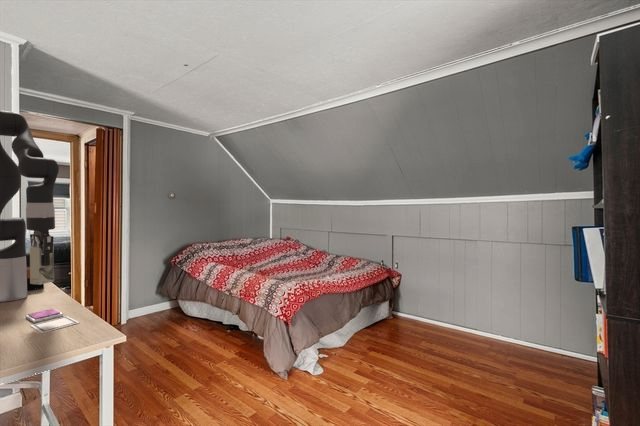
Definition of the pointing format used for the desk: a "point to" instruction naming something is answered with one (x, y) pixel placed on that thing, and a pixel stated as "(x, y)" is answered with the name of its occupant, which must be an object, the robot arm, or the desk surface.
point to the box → (40, 267)
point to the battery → (32, 286)
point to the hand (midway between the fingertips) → (42, 264)
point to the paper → (54, 324)
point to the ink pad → (43, 315)
